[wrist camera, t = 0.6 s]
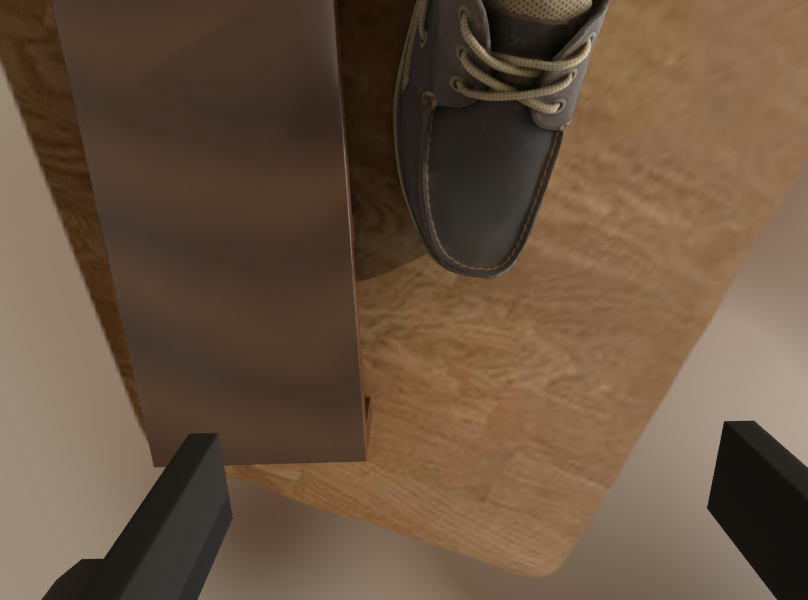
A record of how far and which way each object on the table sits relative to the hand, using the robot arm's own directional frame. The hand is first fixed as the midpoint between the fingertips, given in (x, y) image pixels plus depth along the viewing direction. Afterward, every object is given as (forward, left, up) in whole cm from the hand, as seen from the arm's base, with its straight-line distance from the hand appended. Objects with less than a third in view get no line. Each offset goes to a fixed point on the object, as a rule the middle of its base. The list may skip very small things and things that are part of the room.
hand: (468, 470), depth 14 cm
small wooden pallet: (-2, -12, -26) cm, 29 cm away
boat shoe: (-13, +4, -26) cm, 29 cm away
